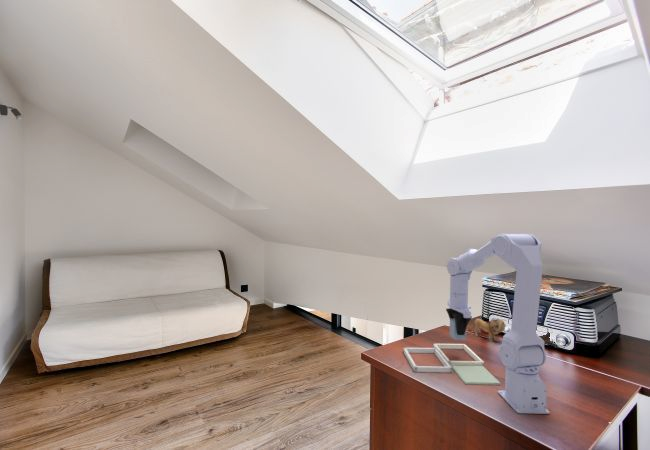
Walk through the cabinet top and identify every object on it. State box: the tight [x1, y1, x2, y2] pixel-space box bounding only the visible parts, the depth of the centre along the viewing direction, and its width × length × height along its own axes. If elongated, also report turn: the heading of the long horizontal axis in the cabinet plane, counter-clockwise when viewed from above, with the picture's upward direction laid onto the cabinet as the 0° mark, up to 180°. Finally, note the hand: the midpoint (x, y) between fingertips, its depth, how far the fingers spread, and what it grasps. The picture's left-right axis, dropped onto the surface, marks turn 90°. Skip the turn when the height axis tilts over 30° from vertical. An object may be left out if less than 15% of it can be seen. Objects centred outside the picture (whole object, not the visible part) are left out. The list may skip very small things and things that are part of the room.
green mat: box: [452, 366, 501, 386], centre depth 96 cm, size 10×10×1 cm
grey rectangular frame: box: [402, 347, 453, 374], centre depth 105 cm, size 15×12×2 cm
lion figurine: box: [467, 318, 507, 343], centre depth 127 cm, size 15×5×9 cm, turn 36°
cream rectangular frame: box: [432, 343, 485, 368], centre depth 109 cm, size 15×12×2 cm
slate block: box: [449, 318, 467, 341], centre depth 109 cm, size 4×4×6 cm
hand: (457, 332), depth 109 cm, fingers closed on slate block, 4 cm apart
